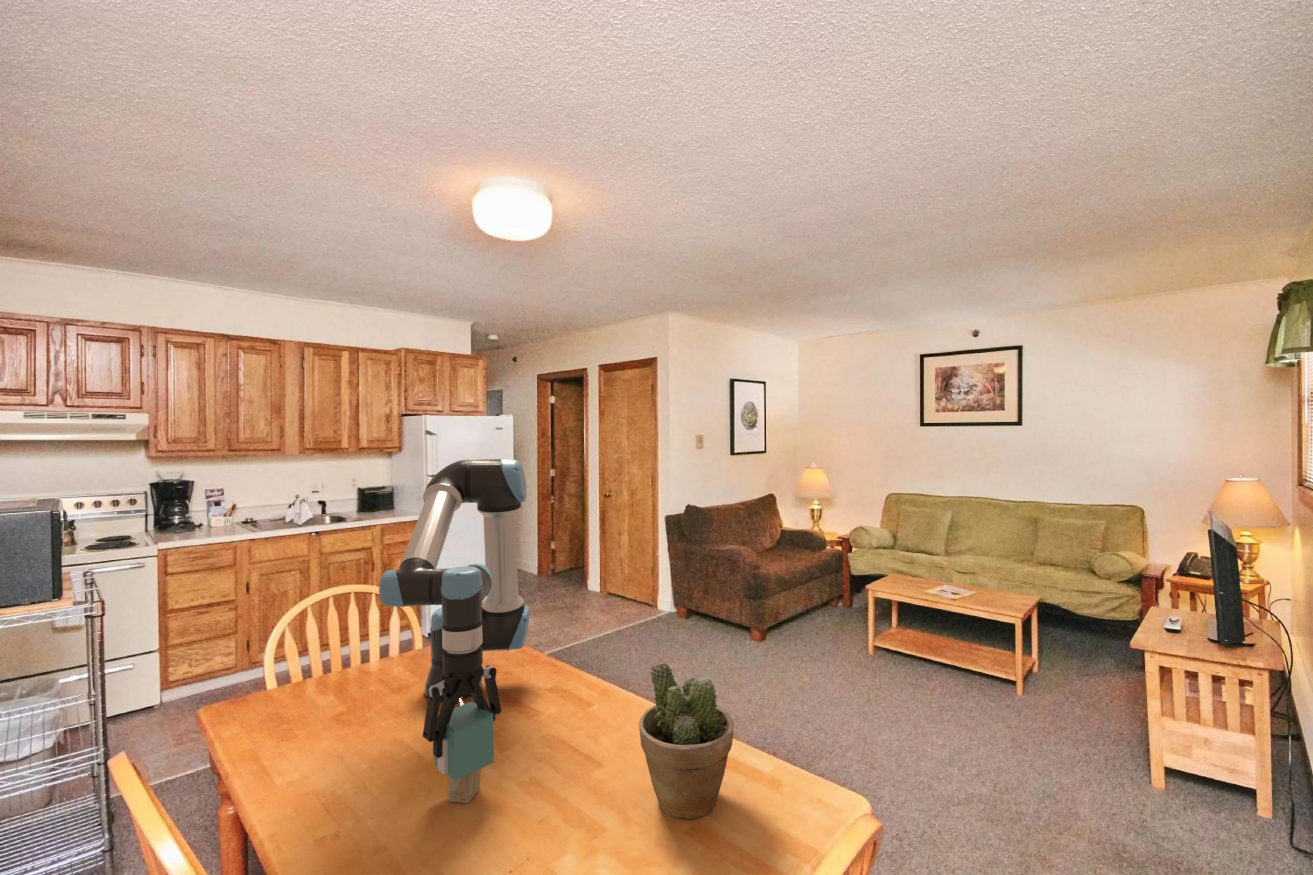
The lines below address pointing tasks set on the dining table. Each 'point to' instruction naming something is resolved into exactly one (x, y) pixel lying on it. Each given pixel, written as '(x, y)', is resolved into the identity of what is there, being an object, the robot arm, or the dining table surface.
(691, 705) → the potted plant
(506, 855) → the dining table surface
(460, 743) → the teal block
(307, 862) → the dining table surface
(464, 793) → the box
